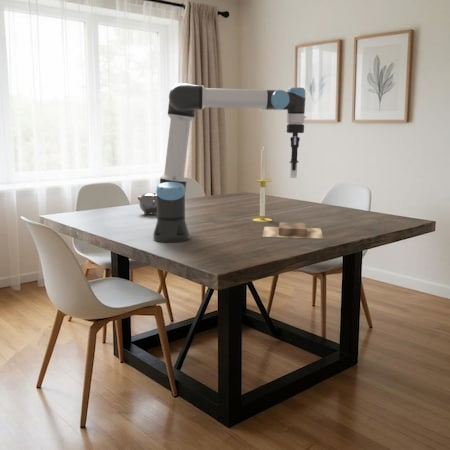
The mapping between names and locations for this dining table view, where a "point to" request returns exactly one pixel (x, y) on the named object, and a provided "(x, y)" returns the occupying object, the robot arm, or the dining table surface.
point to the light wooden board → (274, 232)
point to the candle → (262, 188)
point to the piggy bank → (148, 203)
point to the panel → (292, 229)
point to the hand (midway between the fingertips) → (293, 177)
